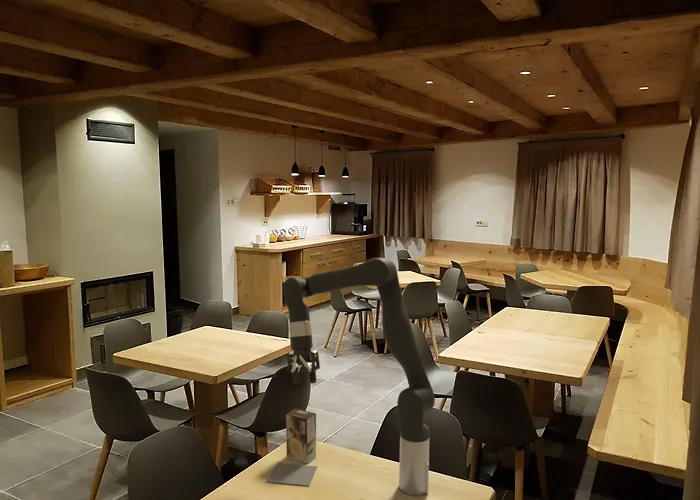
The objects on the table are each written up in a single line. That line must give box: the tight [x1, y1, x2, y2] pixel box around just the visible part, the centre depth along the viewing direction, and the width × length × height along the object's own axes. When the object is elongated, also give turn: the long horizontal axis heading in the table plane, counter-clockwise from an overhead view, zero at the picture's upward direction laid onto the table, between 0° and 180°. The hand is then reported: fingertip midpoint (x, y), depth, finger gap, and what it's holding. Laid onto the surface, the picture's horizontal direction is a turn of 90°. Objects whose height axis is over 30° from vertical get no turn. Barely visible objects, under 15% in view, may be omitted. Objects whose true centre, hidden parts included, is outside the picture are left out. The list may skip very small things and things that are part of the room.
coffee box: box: [285, 408, 317, 465], centre depth 185 cm, size 9×6×16 cm
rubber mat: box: [266, 462, 318, 487], centre depth 174 cm, size 14×12×1 cm
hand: (304, 383), depth 176 cm, fingers open, 8 cm apart
